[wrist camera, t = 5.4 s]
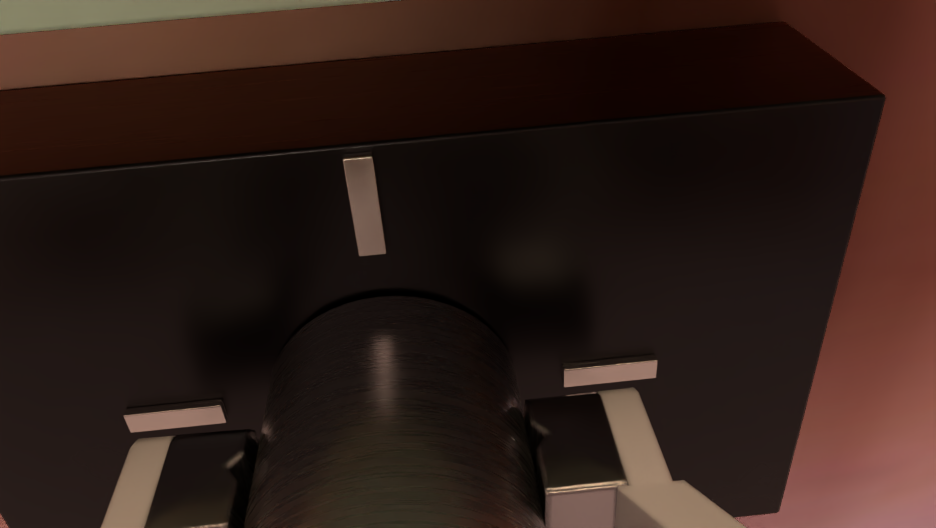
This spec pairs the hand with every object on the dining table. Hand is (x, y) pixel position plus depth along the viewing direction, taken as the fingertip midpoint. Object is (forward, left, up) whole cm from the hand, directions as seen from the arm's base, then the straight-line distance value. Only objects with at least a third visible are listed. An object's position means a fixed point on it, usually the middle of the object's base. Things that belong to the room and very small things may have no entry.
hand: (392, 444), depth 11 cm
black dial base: (0, 0, -4) cm, 4 cm away
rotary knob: (0, 0, -1) cm, 1 cm away
